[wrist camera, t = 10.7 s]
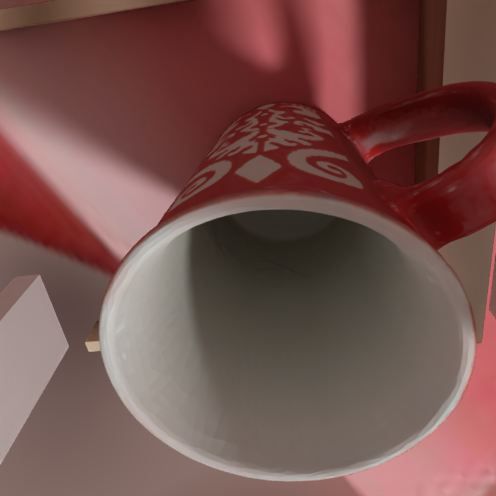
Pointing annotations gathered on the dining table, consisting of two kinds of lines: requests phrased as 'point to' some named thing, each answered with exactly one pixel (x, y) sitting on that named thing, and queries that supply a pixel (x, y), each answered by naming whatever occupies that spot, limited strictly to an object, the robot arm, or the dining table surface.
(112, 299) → the mug
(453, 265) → the channel
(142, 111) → the dining table surface
